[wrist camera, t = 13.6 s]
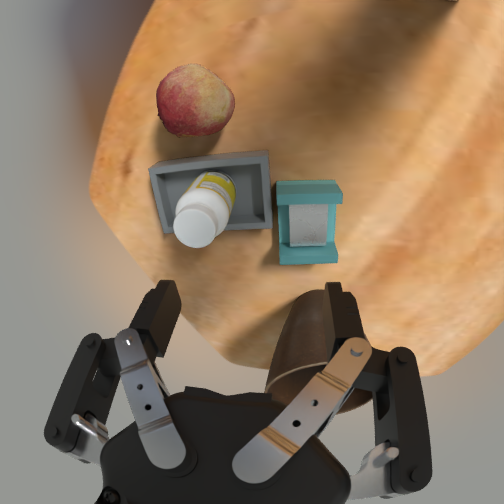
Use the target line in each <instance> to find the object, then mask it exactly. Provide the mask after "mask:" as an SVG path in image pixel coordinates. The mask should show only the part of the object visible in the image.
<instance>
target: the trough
mask: <svg viewBox="0 0 504 504" xmlns="http://www.w3.org/2000/svg"><path fill="white" fill-rule="evenodd" d="M148 170H149V175H150V179H151V183H152V188H153V192H154V196H155V200H156V205H157V209H158V213H159V216H160V220H161V224H162V228H163V232H164V233H174V229H173V224H174V220H175V218H176V214H175V211H176V206H177V203H178V201H179V199H180V198H181V196H182V195H183V194H184V193H185V191H186V190H187V189H188V188H189V186H190V185H191V184H192V182H193V181H194V180H195V179H196V178H197V177H198V176H199V175H200V174H201V173H203V172H205V171H209V170H218V171H221V172H224V173H226V174H227V175H228V176H230V177H231V179H232V180H233V182H234V184H235V186H236V198H235V202H234V205H233V208H232V211H231V214H230V217H229V220H228V223H227V225H226V227H225V229H224V230H243V229H269V228H273V210H272V195H271V180H270V166H269V152H268V150H262V151H247V152H234V153H223V154H214V155H205V156H196V157H188V158H181V159H174V160H167V161H161V162H157V163H156V164H154V165H153V166H152V167H150V168H149V169H148Z"/></svg>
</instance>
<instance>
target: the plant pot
mask: <svg viewBox="0 0 504 504" xmlns="http://www.w3.org/2000/svg"><path fill="white" fill-rule="evenodd" d="M324 291H325V290H312V291H309V292H307V293H305V294H303V295H301V296H300V297H299V298H298V299H297V301H296V302H295V304H294V306H293V308H292V310H291V312H290V314H289V316H288V318H287V320H286V322H285V325H284V327H283V330H282V332H281V335H280V338H279V340H278V343H277V346H276V349H275V352H274V355H273V359H272V362H271V366H270V370H269V374H268V378H267V382H266V387H265V392H264V393H272V399H275V400H278V401H281V402H283V403H285V404H287V405H289V404H290V403H291V402H292V401H293V400H294V399H295V398H296V396H297V395H298V394H299V393H300V392H301V391H302V390H303V389H304V387H305V386H306V385H307V384H308V383H309V382H310V380H311V379H312V378H313V377H314V376H315V375H316V374H317V373H318V372H322V371H323V370H324V368H325V367H326V366H327V365H328V363H327V352H326V341H325V332H324V323H323V313H322V306H323V298H324ZM364 336H365V339H366V341H367V342H369V341H368V339H367V337H366V335H365V334H364ZM369 344H370V343H369ZM372 399H373V395H372V391H368V390H363V389H358V388H354V390H353V391H352V392H351V394H350V395H349V397H348V398H347V400H346V401H345V402H344V404H343V405H342V407H341V408H340V409H339V411H338V412H337V413H336V415H337V414H341V413H345V412H348V411H351V410H353V409H356V408H358V407H360V406H362V405H364V404H366V403H368V402H369V401H371V400H372Z"/></svg>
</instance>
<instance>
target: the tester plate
mask: <svg viewBox="0 0 504 504" xmlns="http://www.w3.org/2000/svg"><path fill="white" fill-rule="evenodd" d="M327 221H328V204H302V205H289V227H290V247H295V246H326V240H327Z"/></svg>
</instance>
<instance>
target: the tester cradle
mask: <svg viewBox="0 0 504 504" xmlns="http://www.w3.org/2000/svg"><path fill="white" fill-rule="evenodd" d="M276 196H277V205H278V222H279V257H280V265H291V264H323V263H337V262H338V252H337V249H336V246H335V243H334V236H335V221H336V204H342V198H343V193H342V191H341V190H340V188H339V186H338V185H337V183H336V181H335V180H294V181H277V182H276ZM302 204H328V221H327V240H326V246H295V247H290V227H289V205H302Z"/></svg>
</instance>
